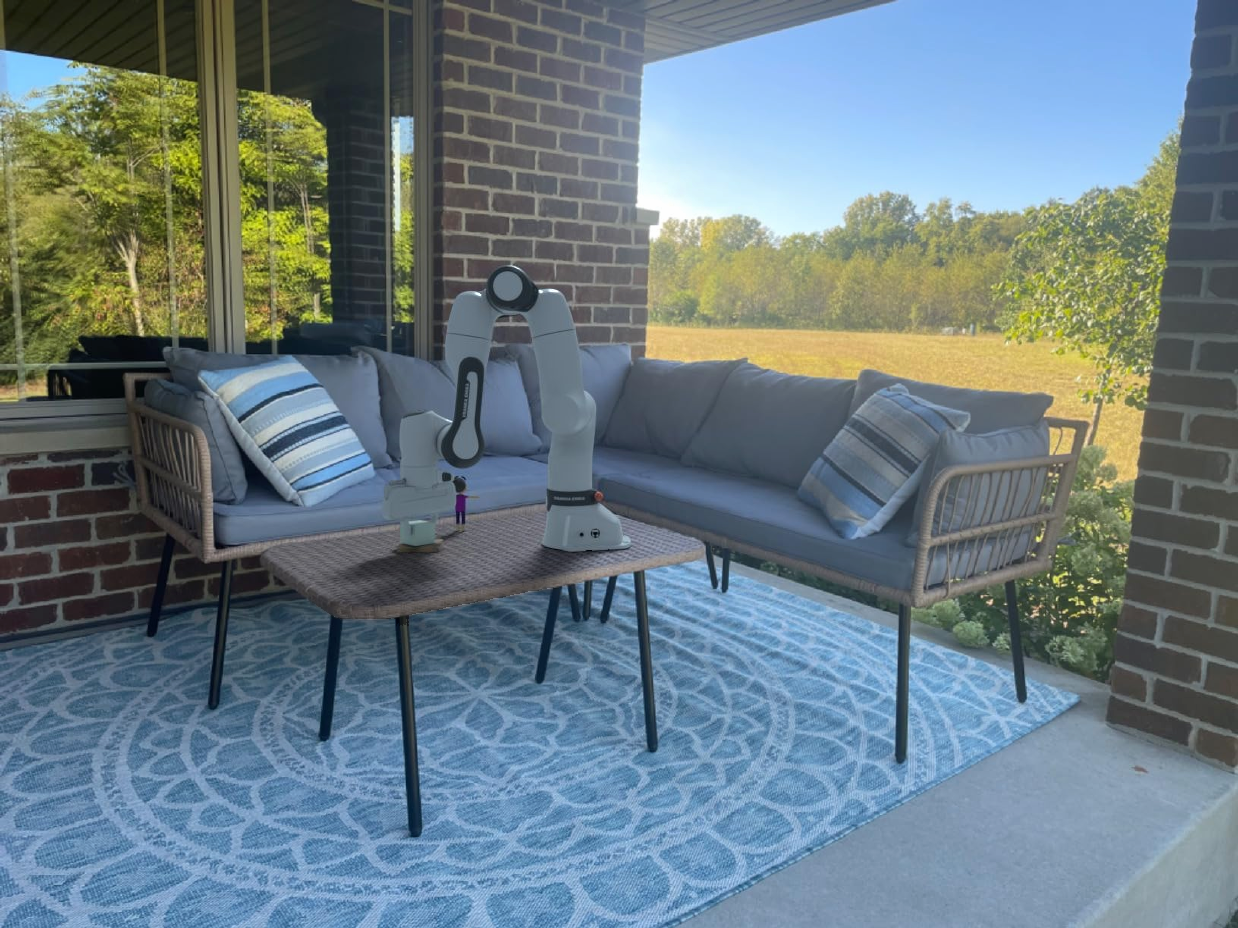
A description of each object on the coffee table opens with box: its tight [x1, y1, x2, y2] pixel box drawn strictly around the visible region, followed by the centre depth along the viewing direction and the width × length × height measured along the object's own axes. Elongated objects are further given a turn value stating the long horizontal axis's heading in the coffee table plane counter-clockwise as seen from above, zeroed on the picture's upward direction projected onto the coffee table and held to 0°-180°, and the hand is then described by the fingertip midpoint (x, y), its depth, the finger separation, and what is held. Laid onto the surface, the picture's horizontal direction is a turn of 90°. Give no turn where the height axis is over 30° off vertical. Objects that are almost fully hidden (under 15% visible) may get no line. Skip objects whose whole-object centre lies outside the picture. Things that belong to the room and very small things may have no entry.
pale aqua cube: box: [399, 519, 436, 546], centre depth 220 cm, size 6×6×5 cm
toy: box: [452, 475, 480, 532], centre depth 239 cm, size 10×6×15 cm, turn 82°
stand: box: [396, 538, 444, 553], centre depth 220 cm, size 10×10×5 cm
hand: (420, 532), depth 219 cm, fingers closed on pale aqua cube, 5 cm apart
